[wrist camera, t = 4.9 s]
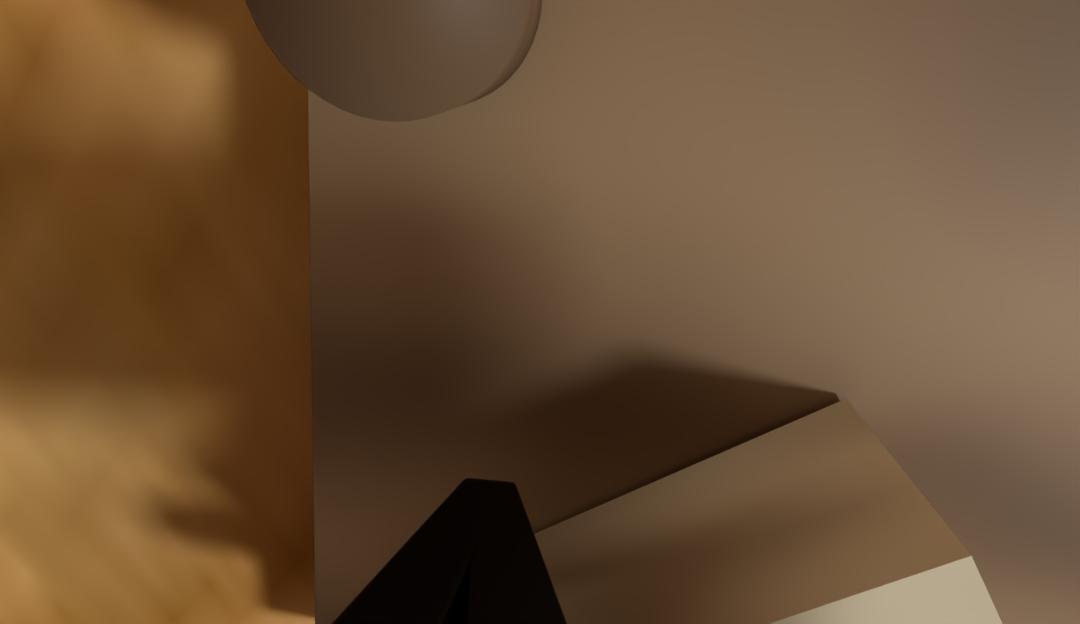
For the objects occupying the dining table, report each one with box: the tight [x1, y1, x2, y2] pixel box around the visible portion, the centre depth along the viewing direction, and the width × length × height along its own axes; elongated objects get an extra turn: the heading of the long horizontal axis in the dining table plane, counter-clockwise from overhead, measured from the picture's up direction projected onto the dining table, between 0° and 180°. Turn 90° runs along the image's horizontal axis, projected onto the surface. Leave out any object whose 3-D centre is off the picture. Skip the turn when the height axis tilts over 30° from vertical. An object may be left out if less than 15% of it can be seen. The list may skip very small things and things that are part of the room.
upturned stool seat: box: [246, 0, 1080, 624], centre depth 8 cm, size 16×15×5 cm
